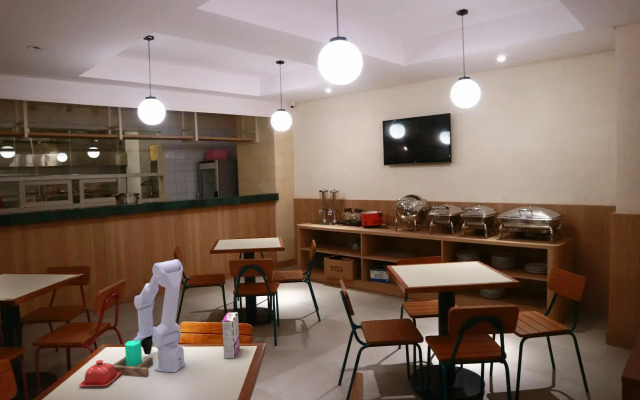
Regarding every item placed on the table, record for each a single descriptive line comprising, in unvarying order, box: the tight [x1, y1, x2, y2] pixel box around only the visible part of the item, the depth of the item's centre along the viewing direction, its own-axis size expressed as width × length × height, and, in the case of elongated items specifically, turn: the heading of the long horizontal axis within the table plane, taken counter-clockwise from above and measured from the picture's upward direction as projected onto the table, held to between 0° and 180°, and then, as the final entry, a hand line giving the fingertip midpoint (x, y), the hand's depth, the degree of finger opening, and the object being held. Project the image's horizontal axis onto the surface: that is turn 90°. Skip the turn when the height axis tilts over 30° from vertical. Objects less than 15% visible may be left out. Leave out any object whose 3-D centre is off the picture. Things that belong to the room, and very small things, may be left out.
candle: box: [124, 340, 143, 367], centre depth 187 cm, size 6×6×12 cm
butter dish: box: [78, 359, 121, 387], centre depth 176 cm, size 12×12×8 cm
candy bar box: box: [221, 311, 241, 360], centre depth 198 cm, size 11×5×16 cm, turn 179°
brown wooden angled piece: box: [112, 356, 154, 378], centre depth 186 cm, size 20×10×3 cm, turn 77°
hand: (147, 353), depth 196 cm, fingers closed
